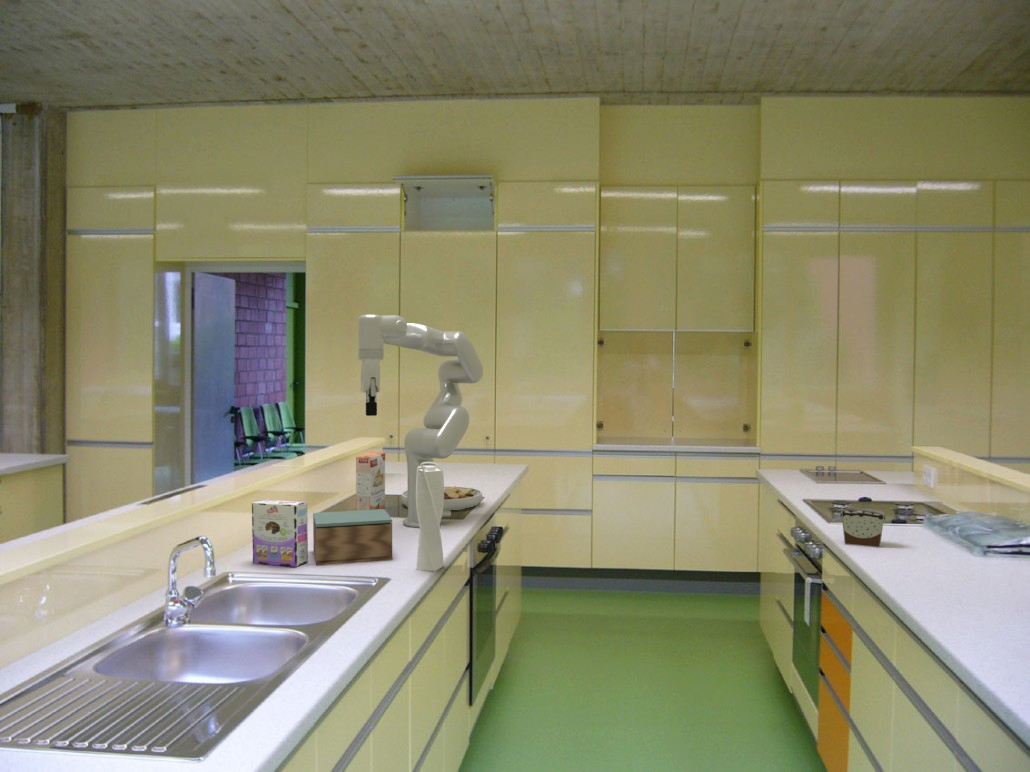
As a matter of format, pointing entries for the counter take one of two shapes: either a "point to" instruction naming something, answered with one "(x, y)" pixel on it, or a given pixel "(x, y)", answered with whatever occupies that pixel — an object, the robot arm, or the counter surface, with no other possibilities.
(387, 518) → the box lid
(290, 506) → the candy box
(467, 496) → the bowl
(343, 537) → the storage box
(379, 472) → the cracker box
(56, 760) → the counter surface
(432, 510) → the skyscraper
